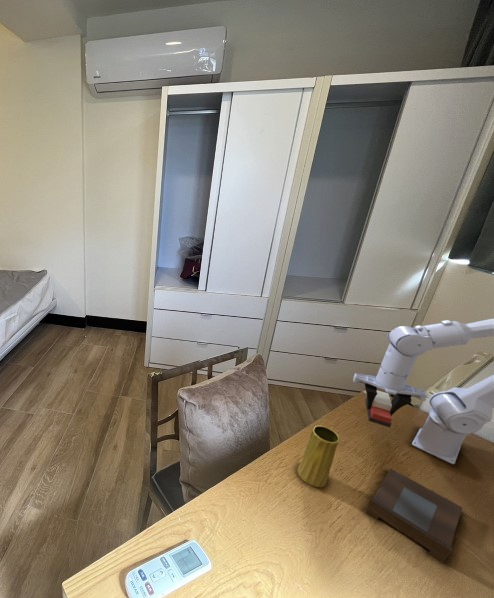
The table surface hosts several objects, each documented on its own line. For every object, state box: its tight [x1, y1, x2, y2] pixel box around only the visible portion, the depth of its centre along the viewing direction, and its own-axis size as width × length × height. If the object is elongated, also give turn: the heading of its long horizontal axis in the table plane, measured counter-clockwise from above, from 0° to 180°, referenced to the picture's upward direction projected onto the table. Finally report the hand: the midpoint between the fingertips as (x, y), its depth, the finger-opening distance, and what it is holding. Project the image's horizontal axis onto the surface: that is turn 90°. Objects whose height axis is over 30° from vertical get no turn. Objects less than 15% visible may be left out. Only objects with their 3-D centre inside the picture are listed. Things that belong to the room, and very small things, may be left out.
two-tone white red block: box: [364, 389, 393, 428], centre depth 86 cm, size 10×4×4 cm, turn 145°
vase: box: [296, 425, 341, 488], centre depth 74 cm, size 6×6×14 cm
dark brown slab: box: [365, 468, 463, 564], centre depth 67 cm, size 16×12×4 cm
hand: (378, 410), depth 86 cm, fingers closed on two-tone white red block, 4 cm apart
